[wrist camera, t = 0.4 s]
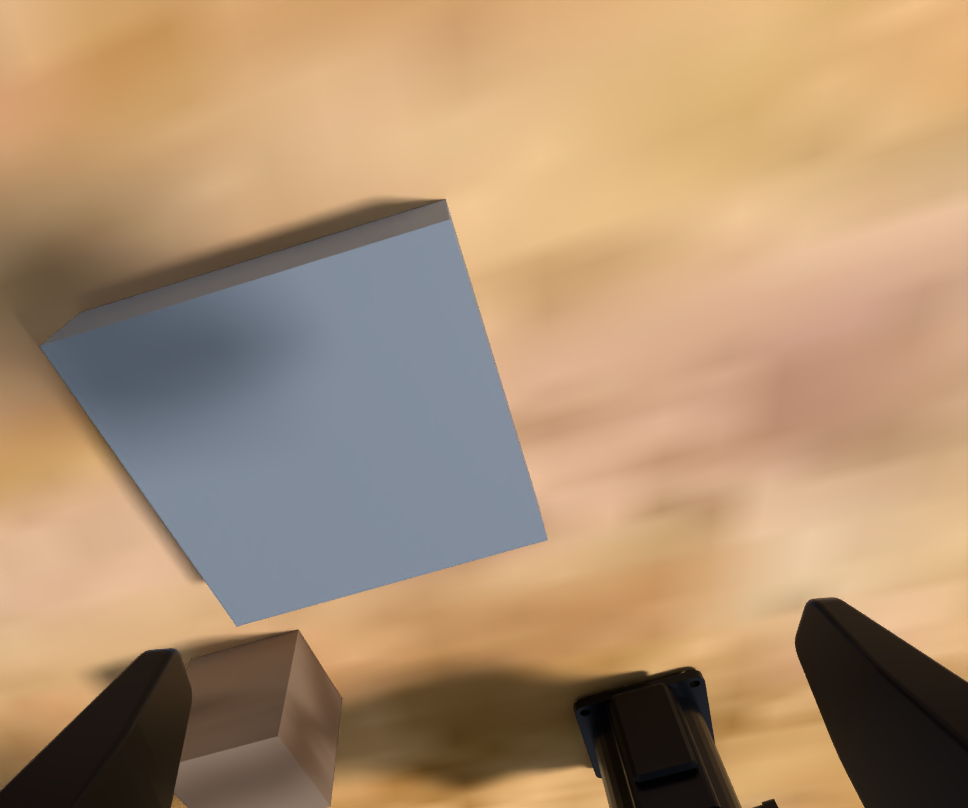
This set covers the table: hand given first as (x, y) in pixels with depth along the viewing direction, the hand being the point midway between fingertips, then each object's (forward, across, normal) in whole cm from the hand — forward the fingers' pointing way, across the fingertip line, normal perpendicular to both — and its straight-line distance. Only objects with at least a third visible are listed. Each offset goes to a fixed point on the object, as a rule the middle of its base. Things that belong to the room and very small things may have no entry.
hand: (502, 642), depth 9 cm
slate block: (+14, +4, +4) cm, 15 cm away
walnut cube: (+14, +9, +18) cm, 24 cm away
